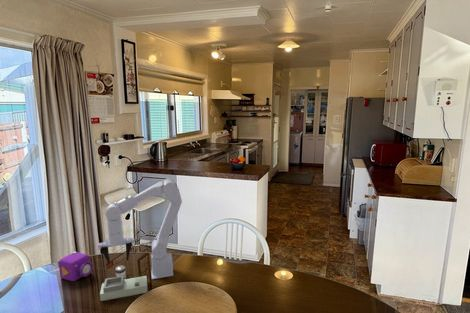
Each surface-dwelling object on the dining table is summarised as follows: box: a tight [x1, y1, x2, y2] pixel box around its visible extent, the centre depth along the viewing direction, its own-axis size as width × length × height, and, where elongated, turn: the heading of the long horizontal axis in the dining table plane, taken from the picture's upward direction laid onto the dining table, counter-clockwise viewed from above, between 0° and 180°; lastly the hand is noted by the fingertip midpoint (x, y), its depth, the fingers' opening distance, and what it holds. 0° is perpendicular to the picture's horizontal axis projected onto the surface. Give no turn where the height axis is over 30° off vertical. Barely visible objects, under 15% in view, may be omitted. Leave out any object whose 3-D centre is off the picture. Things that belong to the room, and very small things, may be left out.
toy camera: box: [58, 251, 93, 282], centre depth 139 cm, size 11×14×10 cm
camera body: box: [99, 275, 148, 302], centre depth 127 cm, size 18×8×5 cm, turn 107°
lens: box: [114, 265, 127, 279], centre depth 135 cm, size 4×4×6 cm
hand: (118, 261), depth 134 cm, fingers open, 7 cm apart
